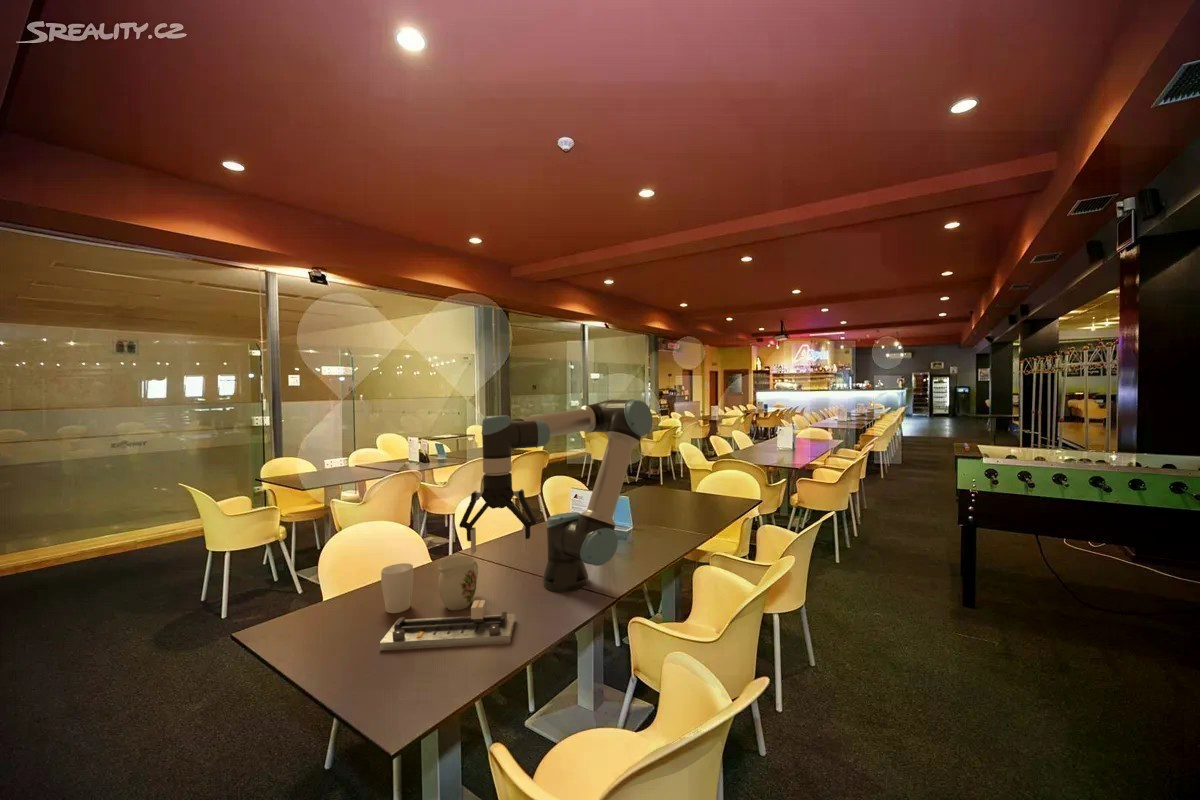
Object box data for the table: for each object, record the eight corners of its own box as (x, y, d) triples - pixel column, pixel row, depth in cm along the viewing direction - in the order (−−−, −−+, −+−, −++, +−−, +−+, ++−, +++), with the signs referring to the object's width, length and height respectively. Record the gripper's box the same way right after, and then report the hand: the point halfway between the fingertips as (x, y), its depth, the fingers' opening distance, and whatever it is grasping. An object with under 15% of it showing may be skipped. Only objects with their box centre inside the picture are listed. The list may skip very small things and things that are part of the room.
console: (515, 620, 130) (514, 606, 130) (509, 643, 118) (509, 627, 118) (397, 627, 128) (397, 612, 128) (379, 650, 116) (379, 634, 116)
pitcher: (492, 594, 149) (491, 551, 149) (457, 619, 132) (455, 571, 132) (463, 590, 152) (462, 548, 152) (425, 614, 135) (424, 567, 135)
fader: (486, 619, 127) (485, 599, 127) (483, 627, 123) (482, 606, 123) (474, 619, 127) (474, 599, 127) (471, 628, 122) (470, 607, 122)
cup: (402, 616, 135) (401, 575, 135) (374, 614, 136) (373, 573, 136) (420, 603, 143) (419, 563, 143) (394, 601, 145) (393, 562, 145)
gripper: (544, 469, 130) (546, 545, 130) (453, 472, 129) (455, 549, 129) (543, 473, 123) (545, 554, 123) (446, 476, 121) (448, 558, 121)
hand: (499, 552), depth 126 cm, fingers open, 13 cm apart
